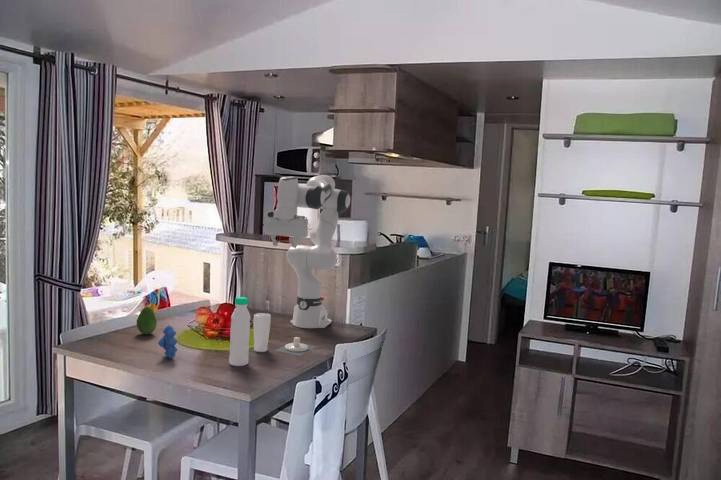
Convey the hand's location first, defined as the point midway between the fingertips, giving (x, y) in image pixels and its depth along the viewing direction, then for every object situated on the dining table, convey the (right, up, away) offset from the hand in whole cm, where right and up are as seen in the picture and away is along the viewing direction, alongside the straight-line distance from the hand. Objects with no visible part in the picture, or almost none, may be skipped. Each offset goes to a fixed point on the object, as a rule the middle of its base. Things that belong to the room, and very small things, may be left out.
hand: (284, 246), depth 234 cm
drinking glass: (-8, -42, -13) cm, 45 cm away
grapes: (-40, -42, -29) cm, 65 cm away
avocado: (-60, -38, +1) cm, 71 cm away
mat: (+6, -43, -8) cm, 44 cm away
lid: (+6, -42, -8) cm, 43 cm away
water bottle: (-13, -44, -30) cm, 55 cm away
